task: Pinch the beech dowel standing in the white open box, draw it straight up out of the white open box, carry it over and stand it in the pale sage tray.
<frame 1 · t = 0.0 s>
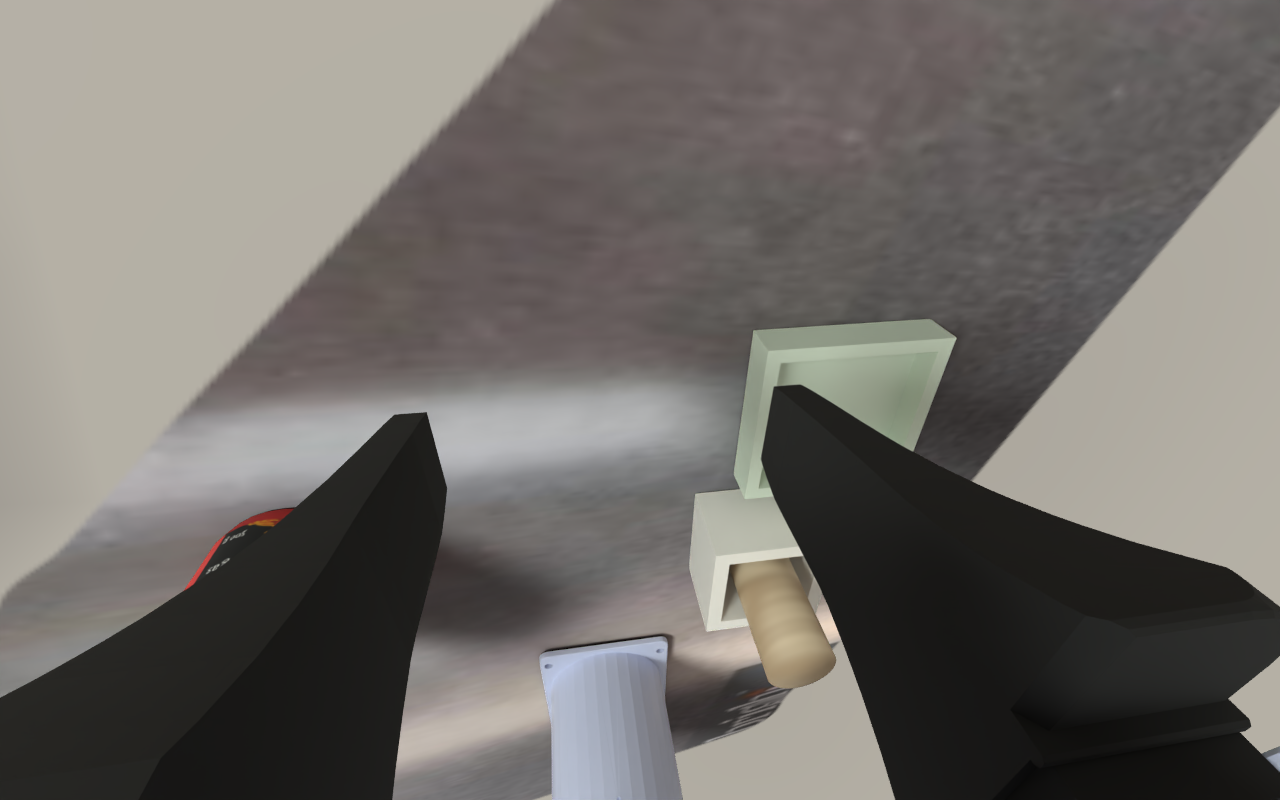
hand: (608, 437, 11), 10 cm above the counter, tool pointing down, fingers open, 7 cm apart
tray: (825, 401, 25), on the counter
white open box: (743, 526, 29), on the counter
dowel: (746, 533, 28), resting on white open box
canned food: (310, 557, 26), on the counter
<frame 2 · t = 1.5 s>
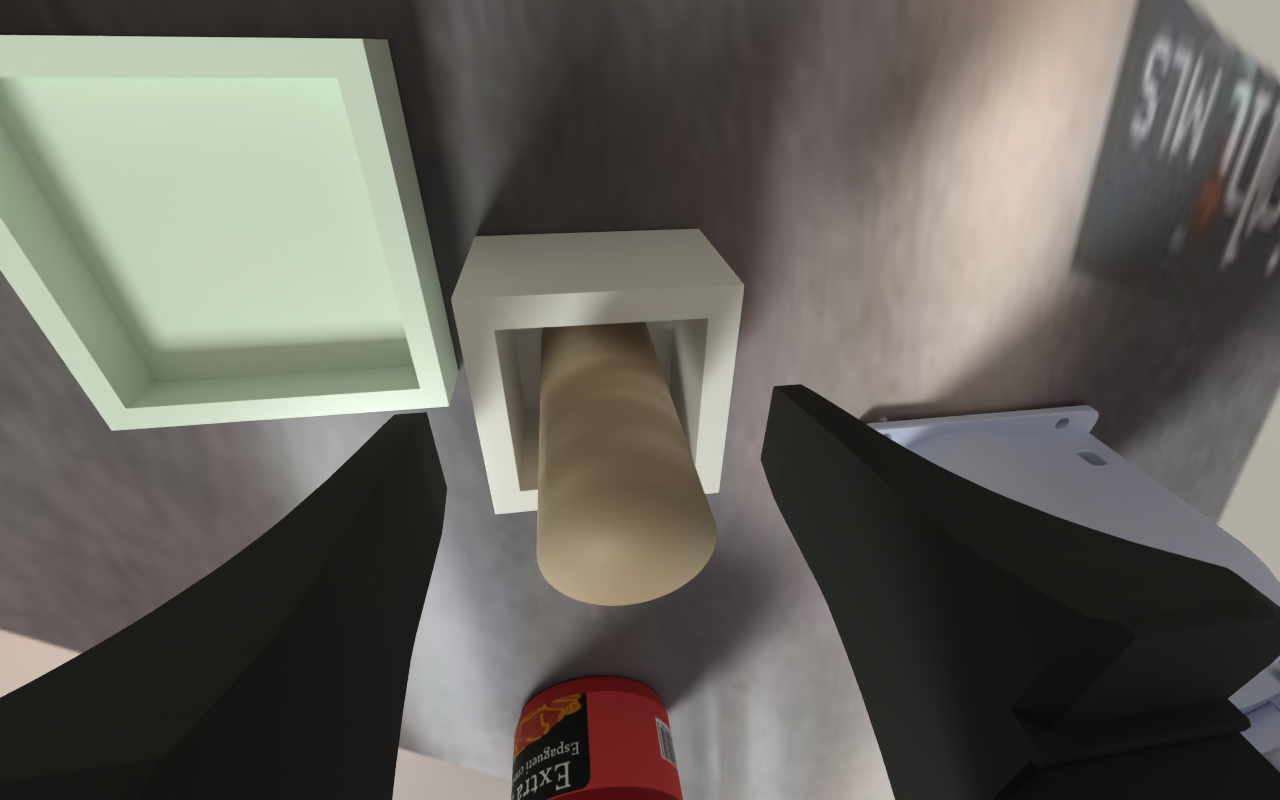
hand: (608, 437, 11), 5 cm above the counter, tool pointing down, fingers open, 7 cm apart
tray: (256, 239, 13), on the counter
white open box: (594, 332, 15), on the counter
dowel: (595, 340, 15), resting on white open box
canned food: (591, 709, 28), on the counter
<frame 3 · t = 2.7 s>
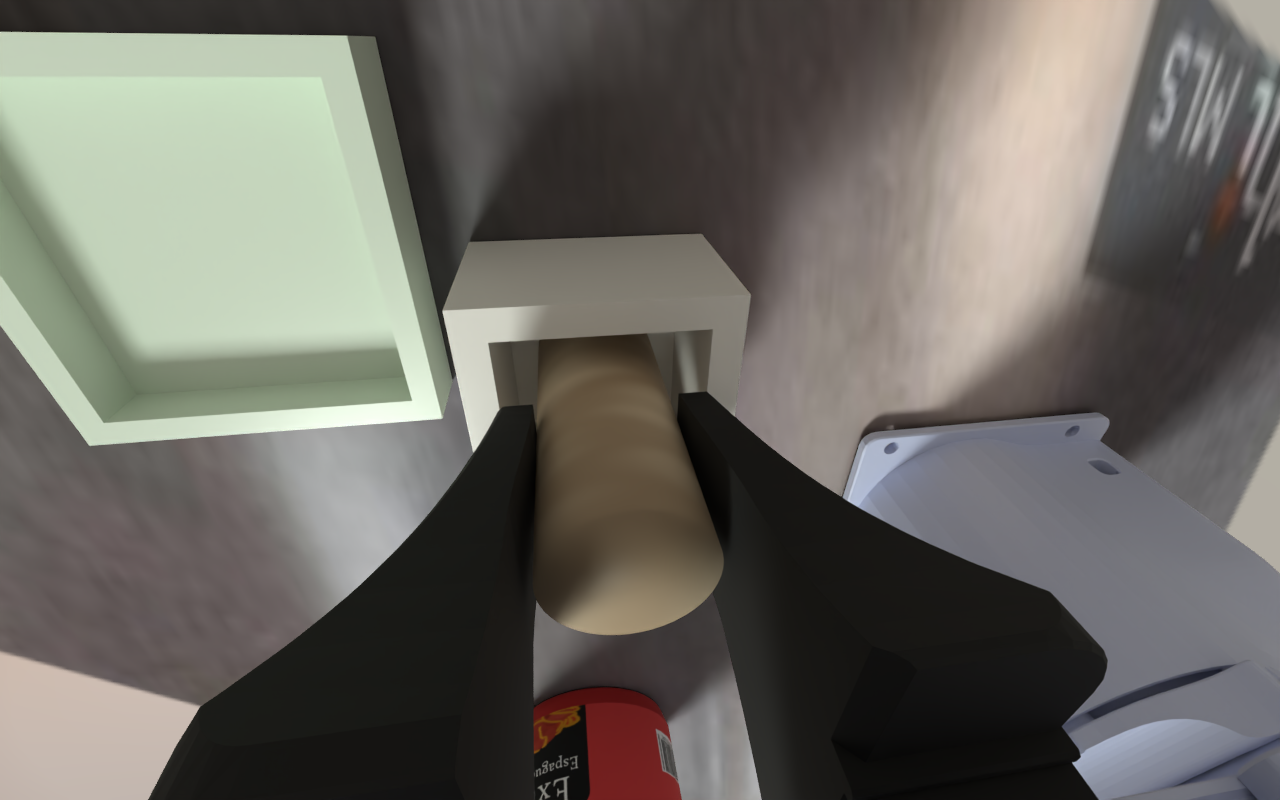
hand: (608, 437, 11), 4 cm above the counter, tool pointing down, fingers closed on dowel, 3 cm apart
tray: (239, 245, 12), on the counter
white open box: (593, 341, 15), on the counter
dowel: (594, 349, 14), resting on white open box, touching gripper
canned food: (591, 719, 27), on the counter
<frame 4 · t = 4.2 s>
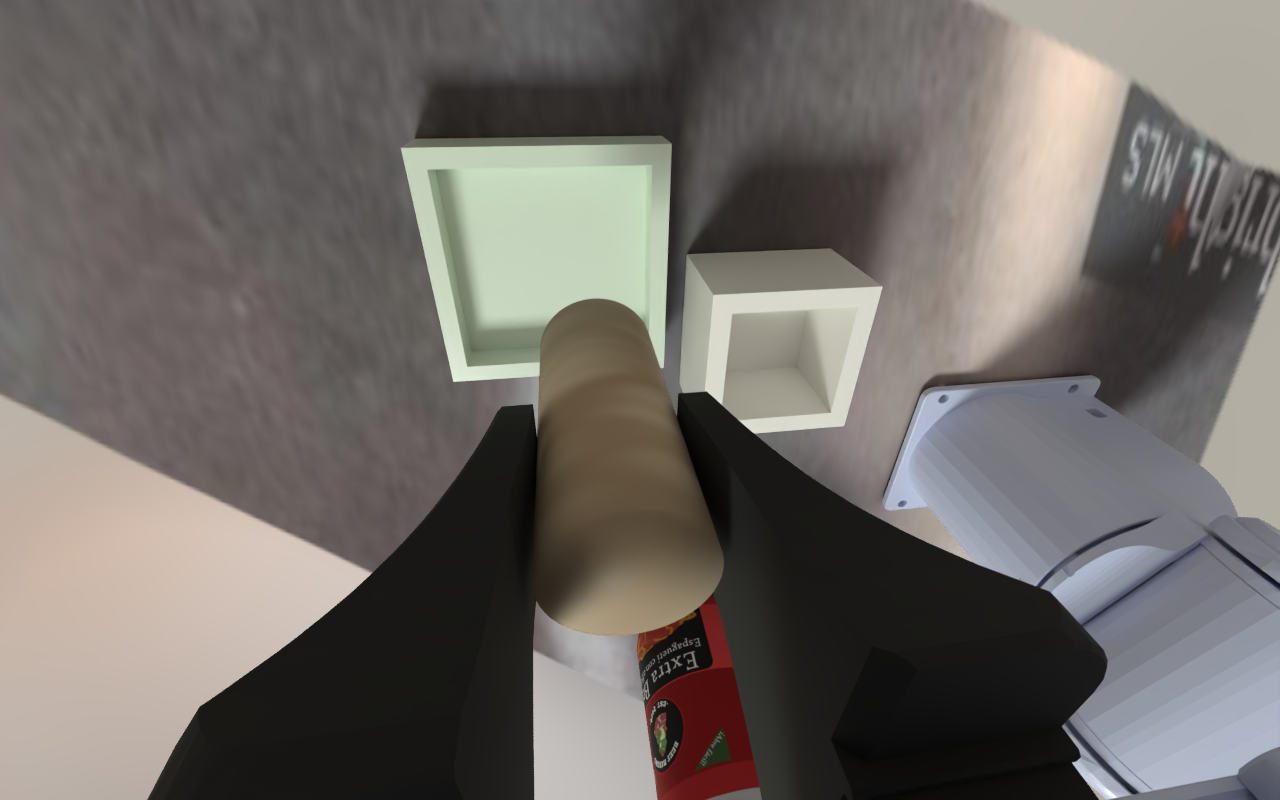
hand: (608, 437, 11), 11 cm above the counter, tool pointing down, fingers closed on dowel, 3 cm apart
tray: (551, 256, 19), on the counter
white open box: (750, 319, 22), on the counter
dowel: (596, 349, 14), point 7 cm above the counter, touching gripper
canned food: (693, 626, 34), on the counter
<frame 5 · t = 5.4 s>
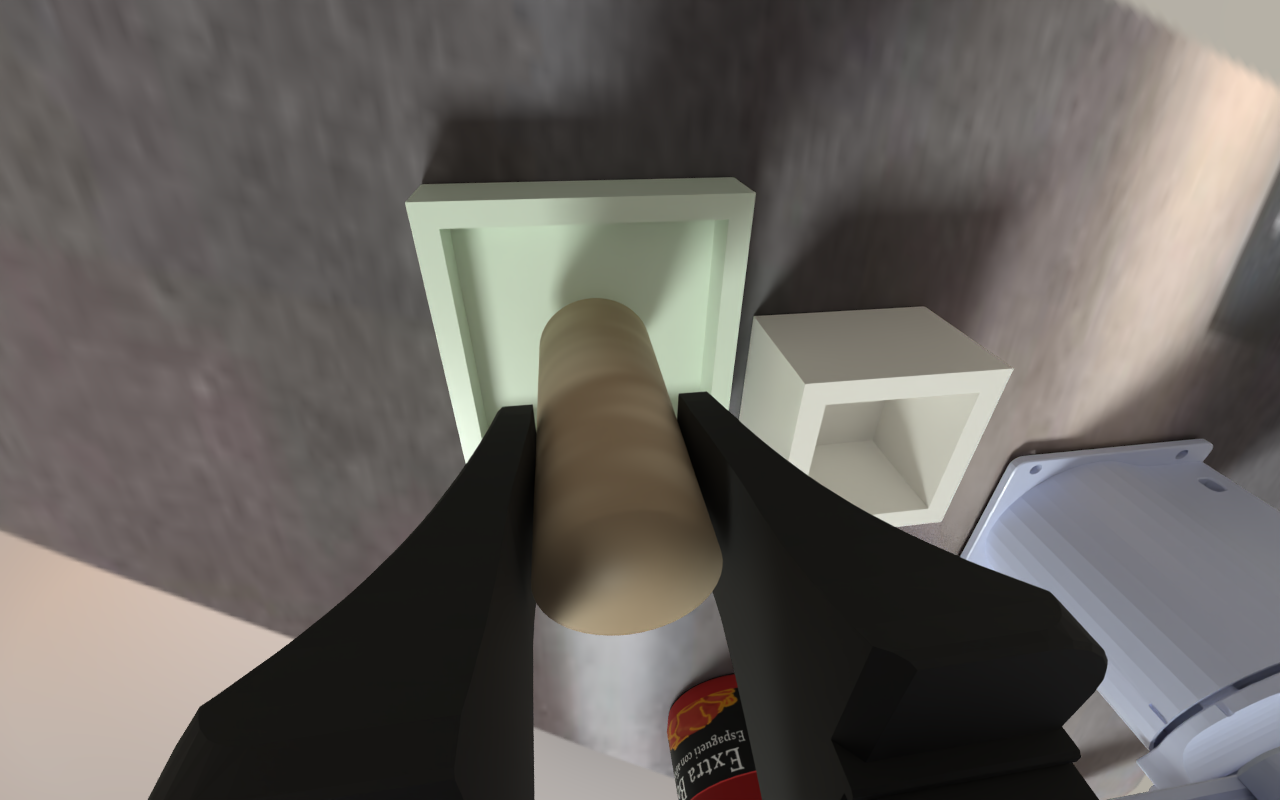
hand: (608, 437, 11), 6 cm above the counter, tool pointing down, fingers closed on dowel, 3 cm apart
tray: (590, 322, 16), on the counter
white open box: (822, 387, 18), on the counter
dowel: (595, 349, 14), point 2 cm above the counter, touching gripper
canned food: (728, 702, 31), on the counter
when the fingers open (6 cm above the counter, at t = 5.9 s): dowel drops 1 cm, resting on tray.
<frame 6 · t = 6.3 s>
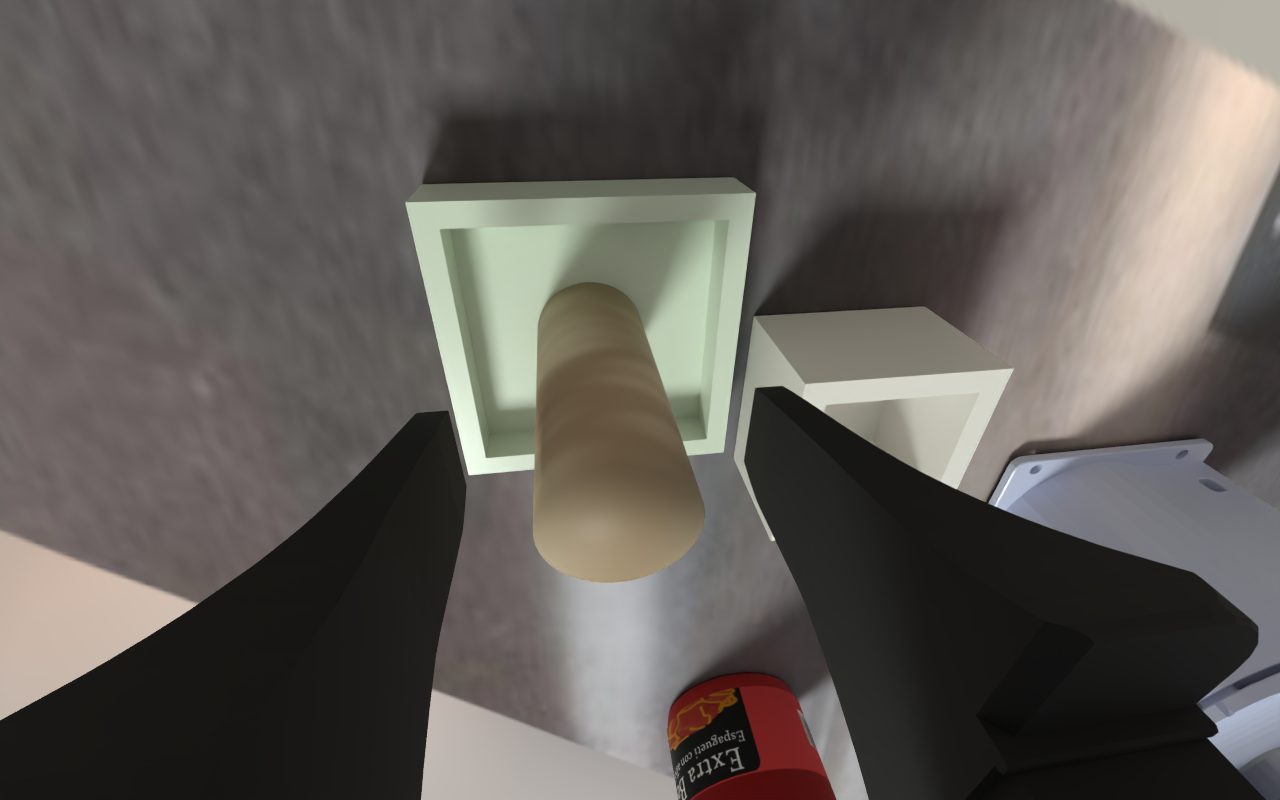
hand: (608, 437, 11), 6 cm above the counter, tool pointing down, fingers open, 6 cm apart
tray: (590, 322, 16), on the counter
white open box: (822, 387, 18), on the counter
dowel: (590, 331, 15), point 1 cm above the counter, touching tray
canned food: (728, 702, 31), on the counter
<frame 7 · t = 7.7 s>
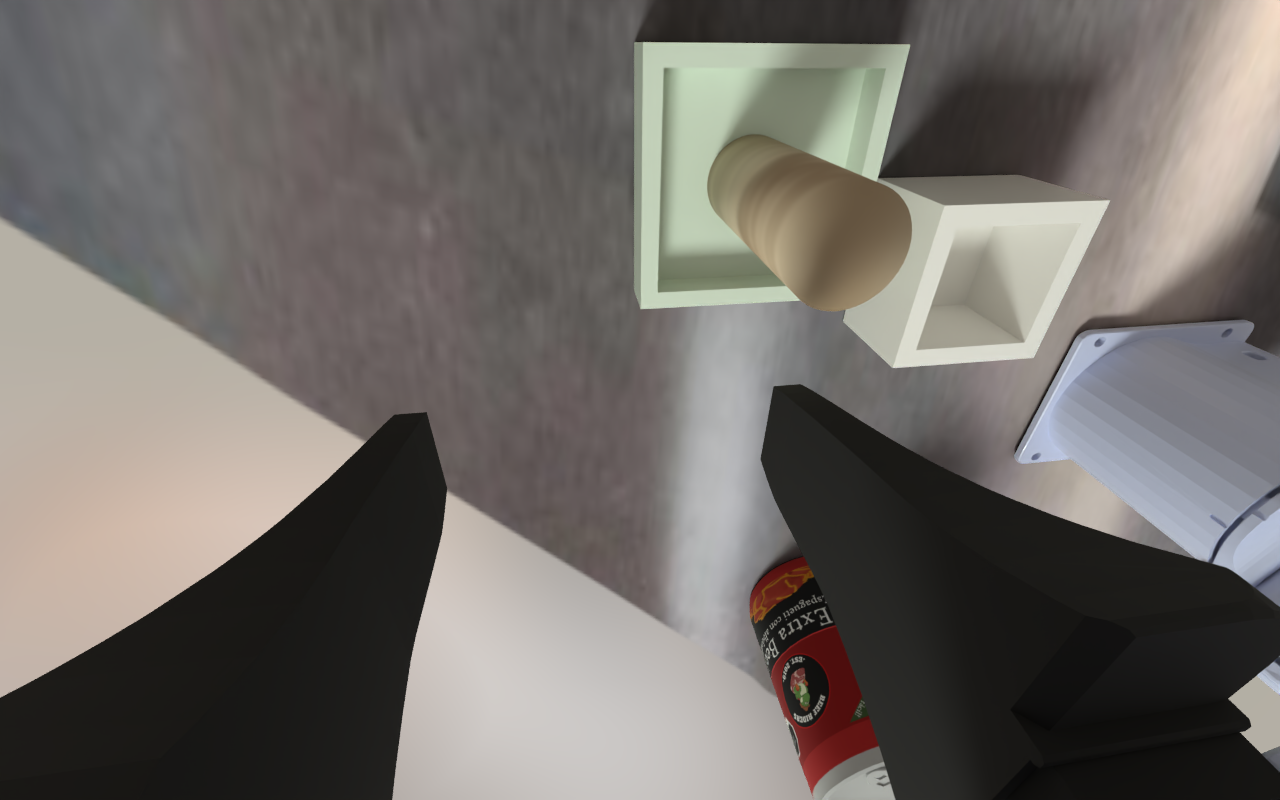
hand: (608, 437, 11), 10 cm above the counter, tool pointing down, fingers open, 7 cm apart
tray: (745, 178, 19), on the counter
white open box: (925, 252, 21), on the counter
dowel: (749, 182, 18), point 1 cm above the counter, touching tray
canned food: (802, 588, 34), on the counter
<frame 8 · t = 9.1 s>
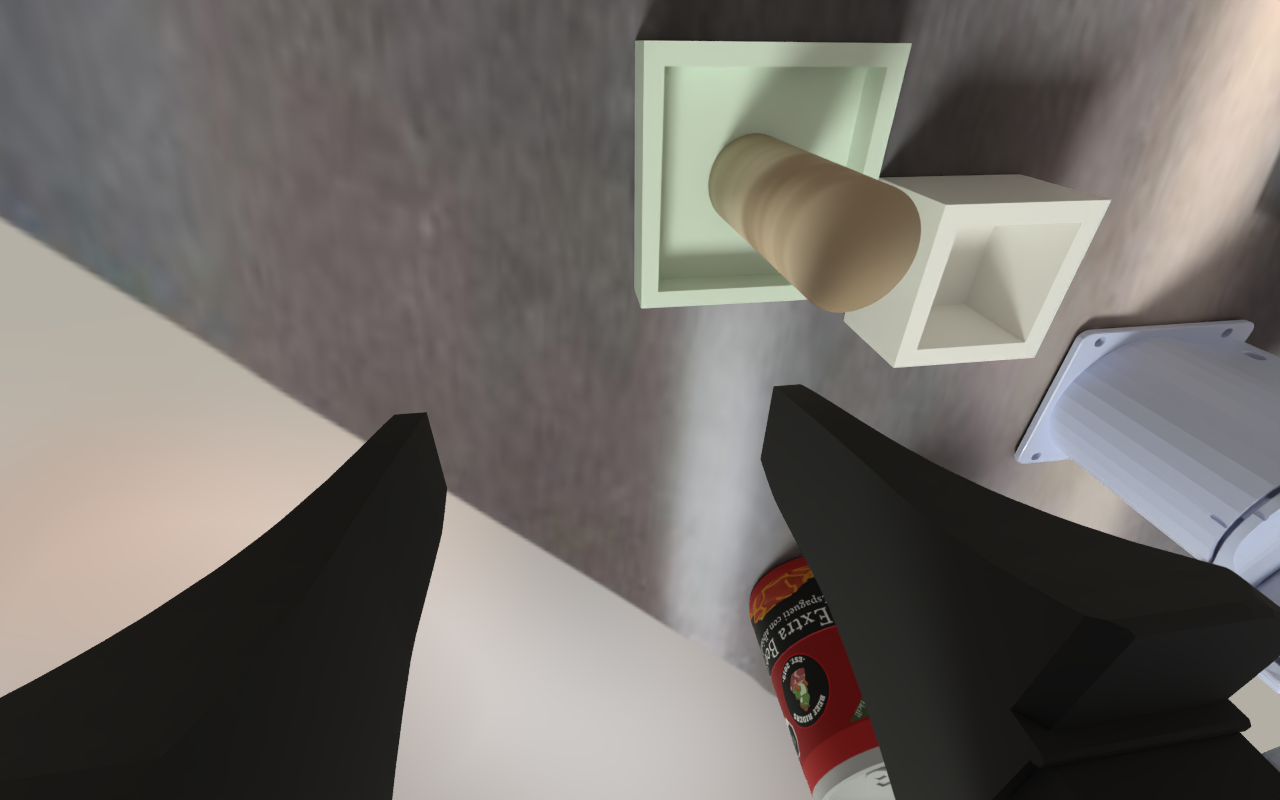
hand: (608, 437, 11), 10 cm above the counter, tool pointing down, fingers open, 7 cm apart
tray: (745, 177, 19), on the counter
white open box: (926, 251, 21), on the counter
dowel: (750, 181, 18), point 1 cm above the counter, touching tray
canned food: (802, 588, 34), on the counter
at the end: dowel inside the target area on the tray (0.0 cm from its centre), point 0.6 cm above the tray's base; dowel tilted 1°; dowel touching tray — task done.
